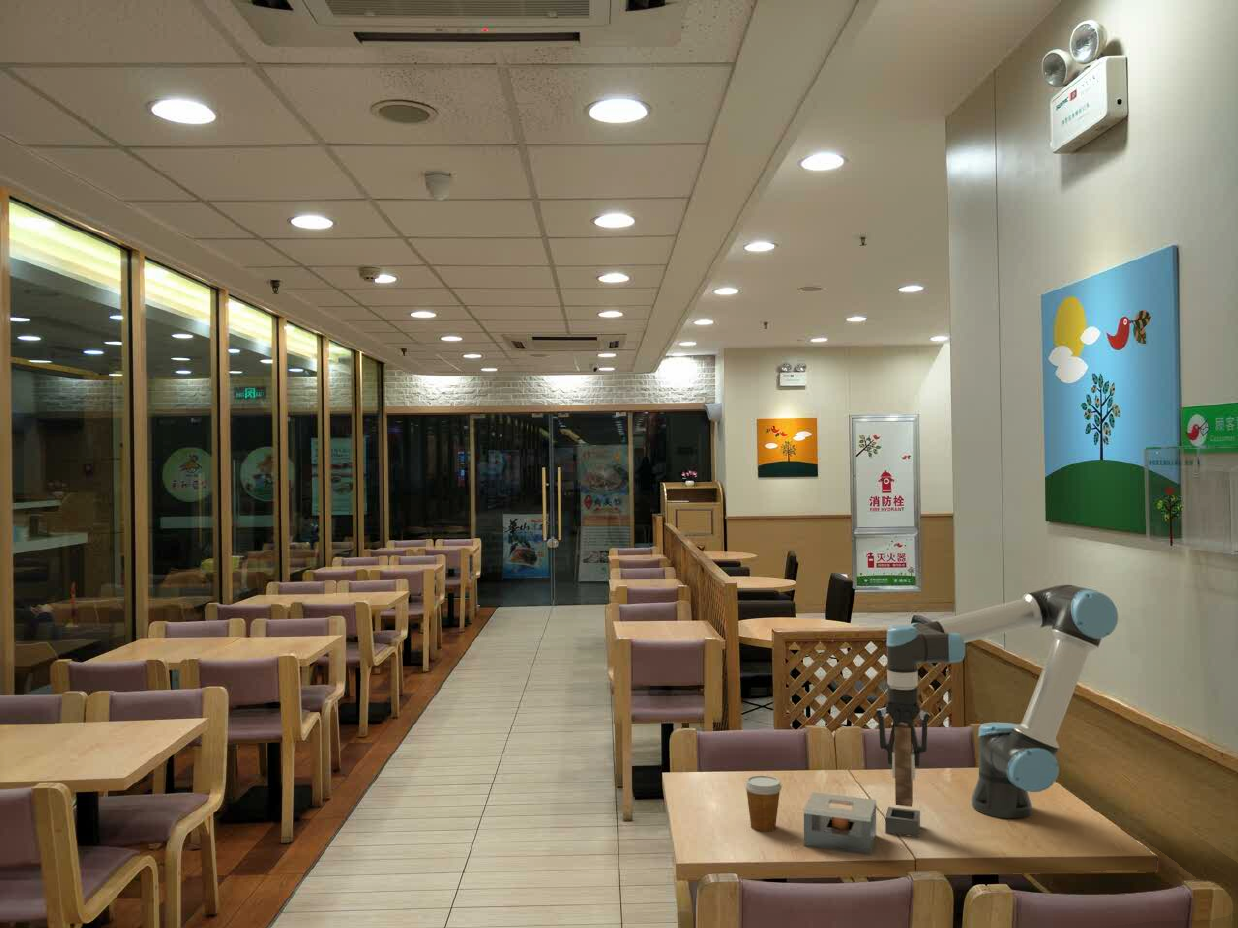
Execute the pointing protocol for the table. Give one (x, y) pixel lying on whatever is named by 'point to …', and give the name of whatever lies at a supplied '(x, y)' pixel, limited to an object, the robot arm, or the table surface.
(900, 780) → the brown wooden bar
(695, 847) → the table surface
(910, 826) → the gray square socket
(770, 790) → the disposable coffee cup
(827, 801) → the box
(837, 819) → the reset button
